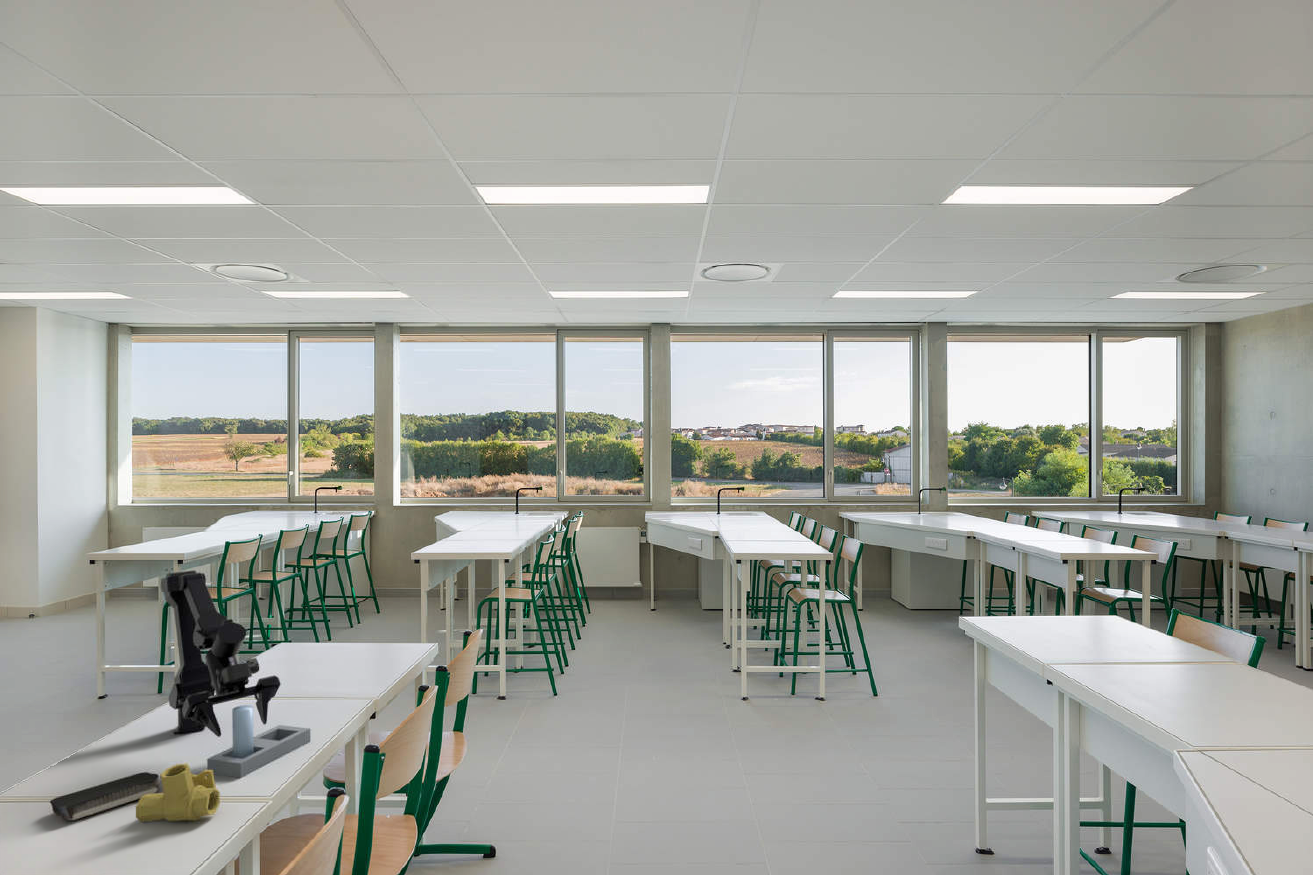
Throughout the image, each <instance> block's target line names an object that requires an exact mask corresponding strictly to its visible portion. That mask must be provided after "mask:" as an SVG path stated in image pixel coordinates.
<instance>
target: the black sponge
mask: <svg viewBox="0 0 1313 875" xmlns="http://www.w3.org/2000/svg"><path fill="white" fill-rule="evenodd" d="M159 789H160V782H159V774H157V773H149V772H147V771H146V772H139V773H136V774H135V773H134V774H132V775H128V776H126V777H125V776H124V777H122V778H118V779H114V780H112V781H108V782H104V783H101V784H98V785H94V786H92V787H91V786H90V787H88V788H85V789H82V790H77V791H75V792H71V793H68V794H64V795H60V796H57V797H55V798H53V799H50V800H49V804H51V808H52V812H53V813H54V814H56V815H57V816H58V815H59V816H61V818H62V820H68V821H75V820H78V819H81V818H84V817H88V816H91V815H94V814H97V813H99V812H104V811H105V810H109V809H112V808H115V807H117V806H121V805H124V804H126V803H127V804H128V803H130V802H133V801H136V800H140V798H141V797H142V796H144V795H146V794H156V792H157V791H158V790H159Z"/></svg>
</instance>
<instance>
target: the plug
mask: <svg viewBox="0 0 1313 875" xmlns="http://www.w3.org/2000/svg"><path fill="white" fill-rule="evenodd" d="M231 713H232V716H231V717H232V726H231V727H232V747H233V758H241V759H244V758H246V757H248V756H250V755H252V754H254V737H255V736H254V706H253V705H251V704H245V705H239V706H238V705H237V706H235V707H234V708H232V712H231Z"/></svg>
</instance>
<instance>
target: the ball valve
mask: <svg viewBox="0 0 1313 875" xmlns="http://www.w3.org/2000/svg"><path fill="white" fill-rule="evenodd" d="M214 776H215V774H213V770H207V769H204V770H203V771H202V772H200V773H199V772H198V774H197V775H196V774H194V773H192V772H191V768H190V765H189V764H188V763H182V764H181V763H180V764H179V763H178V764H175V765H173V766H170V767H168V768H166V769H165V770H164V771H162V772H161V773H160V778H161V785H162V791H163V792H160V793H156V792H155V793H154V794H146V795H144V796H142V797H141V798H139V799H138V802H137V804H136V806H135V819H137V820H138V822H141V823H142V822H143V823H144V822H151V821H158V820H159V821H161V820H166V821H168V822H171V823H173V822H179V821H193V822H194V821H195V822H196V821H199V820H200V819H201V818H202V817H206V816H211V815H212V816H213V815H215V813H216V812H217V810H218V808H219V806H220V803H221V802H220V800H221V794H220V791H219V789H218V788H217V787H216V782H215V777H214Z"/></svg>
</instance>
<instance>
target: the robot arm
mask: <svg viewBox="0 0 1313 875" xmlns="http://www.w3.org/2000/svg"><path fill="white" fill-rule="evenodd" d="M206 580H207V579H206V574H205V573H203V572H202V573H201V572H197V571H196V570H184V571H178V572H169V573H166V575H165V577H163V578H161V580H160V589H161V592H162V593H163V595H164V596H163V597H164V600H165V601H166V602H167V603H168V604H169V606H170V607H171V608H172V609H173V614H174V622H175V629H176V640H177V648H178V655H179V657H178V658H179V664H180V665H179V668H178V670H177V672H176V674H175V675H174V678H173V682H174V683H173V685H172V688H171V690H170V692H169V695H168V704H169V707H171V708H173V709H174V710H177V726H176V727H175V729H174V731H173V734H174V735H176V734H183V733H184V734H186V733H192V732H199V731H204V730H205V729H206V728H207V729H208V730H210V731H211V732H212V733H213V734H214V735H215V736H216V737H218V738H221V736H222V732H221V727H220V724H219V722H218V718H217V717H216V714H215V712H214V711H215V710H214V705H218V704H223V703H227V702H231V701H235V700H238V699H239V700H240V699H244V698H247V697H251V696H254V698H255V700H256V702H255V706H256V709H257V712H258V715H259V717H260V720H261V722H262V724H263V725H266V724H267V723H268V709H269V702H270V701H271V699H273V698H275V696H276V695H277V692H278V690H279V689H280V687H281V680H280V678H279V676H276V675H270V676H266V677H262V678H258V680H257V683H256V685H254V686H249V687H246V685H249V682H250V681H249V678H252V677H253V674H256V673H258V672H259V671H260V664H259V662H258V658H257V657H254V658H249V659H247V660H246V661H245V662H243V663H238V659H237V657H236V655H237V654H239V652H240V650H241V647H242V646H243V643H244V640H245V638H246V637H247V630H246V627H244V626H243V625H242V624H240V623H238V622H234V620H233V618H231V619H230V618H229V619H228V618H227V616H226V615H224V614H222V613H220V612H218V610H217V608H216V605H215V603H214V600H213V598H212V597H211V593H210V591H209V589H208V586H207V582H206ZM208 649H209V650H208ZM204 650H208V651H207V652H206V654H205V657H204V659H205V662H204V660H203V658H202V651H204Z"/></svg>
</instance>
